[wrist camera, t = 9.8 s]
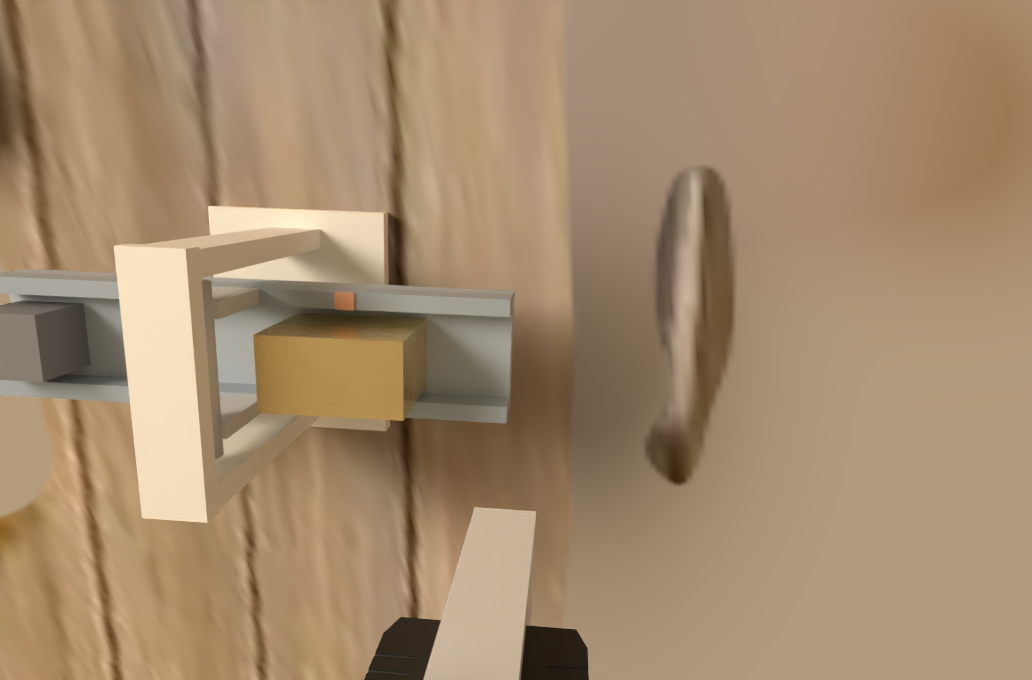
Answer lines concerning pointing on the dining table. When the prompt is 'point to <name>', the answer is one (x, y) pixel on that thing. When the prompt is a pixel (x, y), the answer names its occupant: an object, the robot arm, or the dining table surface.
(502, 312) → the beam
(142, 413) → the stand
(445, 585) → the dining table surface
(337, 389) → the block
